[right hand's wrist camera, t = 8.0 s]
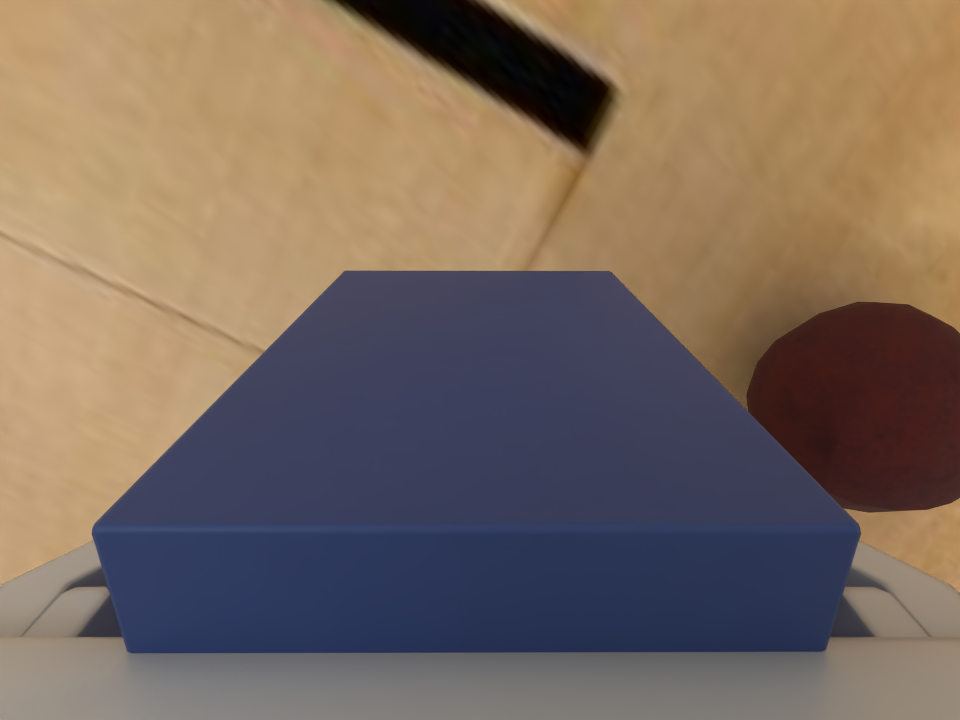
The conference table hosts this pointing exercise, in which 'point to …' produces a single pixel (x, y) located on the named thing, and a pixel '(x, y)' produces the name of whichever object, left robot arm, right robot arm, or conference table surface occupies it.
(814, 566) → the box
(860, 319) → the potato
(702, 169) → the conference table surface
